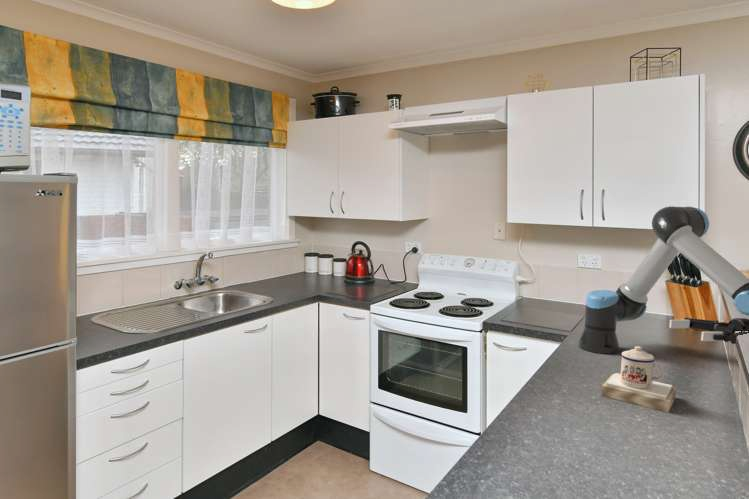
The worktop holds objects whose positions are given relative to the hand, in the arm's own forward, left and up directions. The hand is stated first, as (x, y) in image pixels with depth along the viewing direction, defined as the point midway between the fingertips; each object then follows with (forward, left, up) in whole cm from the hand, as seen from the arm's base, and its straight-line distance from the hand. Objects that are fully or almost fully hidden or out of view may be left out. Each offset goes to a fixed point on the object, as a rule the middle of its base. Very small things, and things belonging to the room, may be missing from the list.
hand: (685, 329), depth 155 cm
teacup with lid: (-9, -14, -16) cm, 23 cm away
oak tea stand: (-9, -14, -20) cm, 26 cm away
